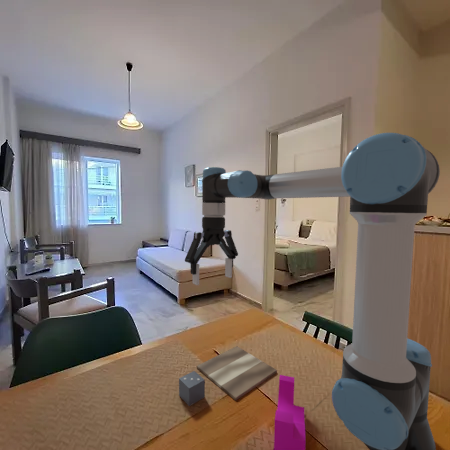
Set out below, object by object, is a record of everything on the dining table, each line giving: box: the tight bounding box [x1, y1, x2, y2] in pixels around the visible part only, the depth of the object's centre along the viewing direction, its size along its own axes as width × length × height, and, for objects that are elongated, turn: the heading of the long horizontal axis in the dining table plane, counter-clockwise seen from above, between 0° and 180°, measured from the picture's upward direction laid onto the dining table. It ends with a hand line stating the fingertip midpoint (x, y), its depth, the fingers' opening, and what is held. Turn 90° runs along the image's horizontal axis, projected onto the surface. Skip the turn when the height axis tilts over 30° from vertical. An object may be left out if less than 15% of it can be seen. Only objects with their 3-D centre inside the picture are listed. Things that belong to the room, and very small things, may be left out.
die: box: [178, 370, 206, 407], centre depth 69 cm, size 5×5×5 cm
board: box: [196, 345, 278, 401], centre depth 80 cm, size 18×18×1 cm
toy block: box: [273, 374, 306, 450], centre depth 60 cm, size 15×6×8 cm, turn 164°
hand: (212, 280), depth 84 cm, fingers open, 13 cm apart
